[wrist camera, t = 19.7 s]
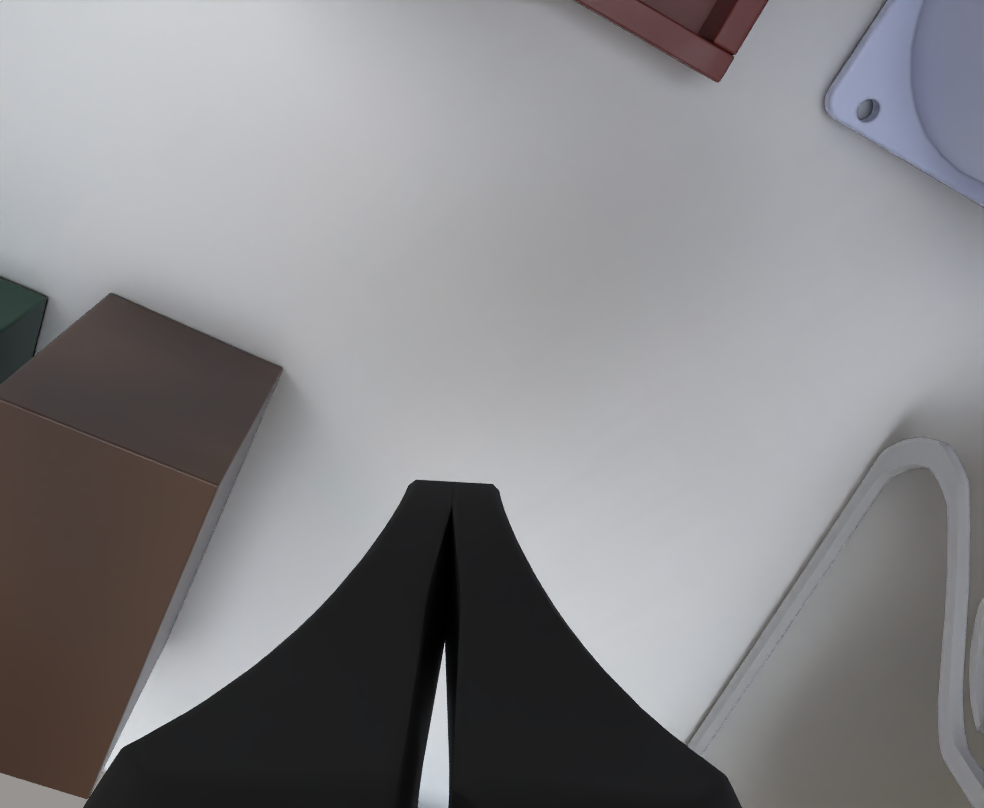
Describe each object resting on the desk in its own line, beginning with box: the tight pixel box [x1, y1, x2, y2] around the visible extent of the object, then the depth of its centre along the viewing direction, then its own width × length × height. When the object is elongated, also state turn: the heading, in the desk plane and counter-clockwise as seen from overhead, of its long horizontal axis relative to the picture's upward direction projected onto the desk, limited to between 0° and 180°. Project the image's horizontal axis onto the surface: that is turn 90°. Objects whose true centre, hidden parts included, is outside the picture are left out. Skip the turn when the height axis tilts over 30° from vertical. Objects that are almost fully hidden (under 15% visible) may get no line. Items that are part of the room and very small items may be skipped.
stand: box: [0, 293, 283, 799], centre depth 23 cm, size 5×12×6 cm, turn 153°
